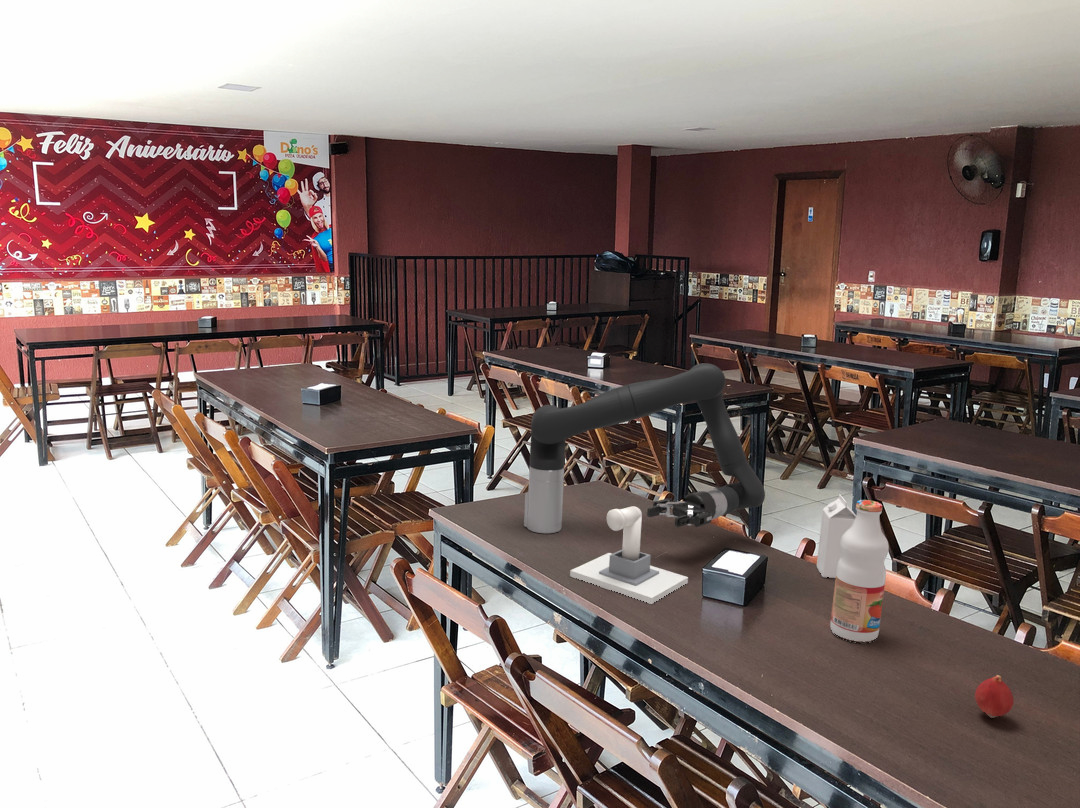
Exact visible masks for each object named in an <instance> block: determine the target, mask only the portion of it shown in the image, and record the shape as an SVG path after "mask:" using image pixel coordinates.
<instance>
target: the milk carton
mask: <svg viewBox="0 0 1080 808" xmlns="http://www.w3.org/2000/svg"><path fill="white" fill-rule="evenodd" d="M821 514H822V515H821V523H820V532H819V540H818V549H817V558H816V559H817V560H816V568H817V570H818V572H819V573H821V574H820V575H821V577H822V578H827V577H829V578H830V579H836V571H837V565H838V562H839V560H840V558H841V556H842V553H841V546H840V543H841V538H842V536H843V534H844V533H845V532H846V531H847V530H848V529H849V528H850V527H851V526H852V524H853V522H854V520H855V518H856V515H857V514H855V512H854V511H853V509H851V508H850V507H849V506H848V502H847V501H846V500H845V498H844V497H843V496H842V495H841V493H840V494H838V498H837V499H835V500H833V501H832V502H830V503H828V504H827V505H826V506H824V508H822V513H821Z"/></svg>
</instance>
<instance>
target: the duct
mask: <svg viewBox="0 0 1080 808" xmlns="http://www.w3.org/2000/svg"><path fill="white" fill-rule="evenodd" d="M651 556H652V555H651V554H648V553H645V552H641V551H640V554H639V559H638V560H636V561H631V560H628V559H625V558H622V549H620V550H618V551H615V552H613V553H611V552H607V553H605V554H603V555H601V556H599V557H596V558H595V559H591V560H590V561H588V562H586V563H584V564H582V565H580V566H577V567H575V568H572V569H570V570H569V577H570V578H573V579H576V578H577V579H576V580H578V579H579V581H581V580H583V581H582V582H584V581H585V583H587V582H588V584H590V583H592V584H591V585H593V584H594V586H596V585H597V586H596V587H599V586H600V587H599V588H602V589H606V590H608V591H611V590H612V591H611V592H614V591H615V592H614V593H616V592H618V593H617V594H619V593H621V594H620V595H622V594H624V595H623V596H625V595H626V597H628V596H629V598H631V597H632V599H634V598H635V599H634V600H637V599H638V601H640V600H641V601H640V602H643V601H644V602H643V603H646V602H647V604H649V605H653V604H655V603H657V602H658V601H660V600H661V598H662V599H663V598H665V597H667V596H669V595H670V594H672V593H673V591H674V590H675V591H677V590H679V589H681V588H682V587H684V586H686V585H687V584H688V583H689V577H688V576H685V575H682V574H679V573H676V572H674V571H673V572H672V571H669V570H667V569H666V570H665V569H663V568H660V567H656V566H653V565H651V558H652V557H651ZM685 584H686V585H685ZM683 585H684V586H683ZM681 586H682V587H681ZM680 587H681V588H680ZM678 588H679V589H678ZM676 589H677V590H676ZM675 591H674V592H675ZM671 592H672V593H671ZM669 593H670V594H669ZM668 594H669V595H668ZM666 595H667V596H666ZM664 596H665V597H664ZM659 599H660V600H659ZM656 601H657V602H656ZM654 602H655V603H654Z"/></svg>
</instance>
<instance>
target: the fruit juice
mask: <svg viewBox="0 0 1080 808" xmlns="http://www.w3.org/2000/svg"><path fill="white" fill-rule="evenodd" d="M855 510H856V514H855V515H856V518H855V520H854V522H853V524H852V526H851V527H850V528H849V529H848V530H847V531H846V532H845V533H844V534H843V536H842V538H841V543H840V546H841V553H842V556H841V558H840V560H839V562H838V565H837V571H836V578H835V581H834V589H833V598H832V605H831V615H830V625H829V626H830V631H831V630H832V631H831V633H833V634H834V633H835V634H836V635H838V636H840V637H843V638H846V639H849V640H854V641H863V642H865V641H871V640H874V639H876V638H877V639H878V636H879V632H880V624H881V618H882V610H883V603H884V601H883V600H884V596H885V595H884V594H885V585H886V579H887V578H886V577H887V570H886V566H885V565H886V564H885V561H886V559H887V556H888V554H889V541H888V539H887V538H886V536H885V534H884V533H883V531H882V528H881V521H880V515H881V514H882V511H883V505H882V503H880V502H879V501H874V500H869V499H868V500H867V499H859V500H857V501H856V503H855ZM835 634H834V635H835ZM836 635H835V636H836ZM838 636H837V637H838ZM877 639H876V640H877Z"/></svg>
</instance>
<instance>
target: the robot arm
mask: <svg viewBox="0 0 1080 808" xmlns="http://www.w3.org/2000/svg"><path fill="white" fill-rule="evenodd" d="M725 385H726V376H725V373H724V372H723V371H722V369H720V368H719V366H717V365H716V364H712V363H706V362H705V363H703V362H702V363H698V364H695V365H694V366H692V367H691V368H690V369H688V370H687V371H684V372H681V373H679V374H676V375H673V376H670V377H665V378H660V379H649V380H643V381H639V382H633V383H628V384H626V385H621V386H618V387H614V388H611V389H608V390H607V391H604V392H602V393H600V394H598V395H596V396H594V397H592V398H591V399H590V398H589V400H586V401H585V402H582V403H580V404H576V405H572V406H566V407H562V408H560V407H559V406H556V405H555V404H554V405H553V404H544V405H542V406H539V408H537V409H536V410H535V411H534V412H533V414H532V416H531V423H530V429H531V430H530V449H529V473H528V474H529V475H528V490H527V491H526V492H525V494H524V518H523V527H525V528H527V529H528V531H531V532H533V533H537V534H538V533H539V534H554V533H557V532H560V531H561V530H562V522H563V521H562V520H563V519H562V518H563V517H562V516H563V499H564V497H563V496H564V480H565V478H564V477H565V462H566V461H565V460H566V458H565V457H566V439H567V440H568V439H570V438H572V437H574V436H577V435H579V434H582V433H584V432H588V431H592V430H597V429H602V428H606V427H611V426H615V425H619V424H623V423H628V422H632V421H634V420H639V419H642V418H643V417H647V416H651V415H653V414H655V413H658V412H661V411H663V410H666V409H668V408H671V407H675V406H678V405H682V404H688V403H692V402H696V403H697V405H698V408H699V409H700V412H701V414H702V416H703V418H704V419H703V420H704V422H705V424H706V427H707V431H708V434H709V437H710V439H711V442H712V446H713V449H714V452H715V455H716V459H717V461H718V464H719V467H720V469H721V472H722V474H723V475H725V476H728V477H733V478H735V479H736V480H737V482H736V481H735V482H732V483H727V484H725V485H723V486H720V487H719V486H718V487H717V488H716V487H715V488H711V489H709V488H708V489H704V490H699V491H696V492H692V493H689V494H687V495H686V496H685V497H684V498H683V500H681V501H680V500H678V501H672V498H664V499H659V500H655V501H653V502H652V506H651V507H648V508H647V512H646V516H647V517H648V518H655V517H657V516H665V517H667V518H675V519H674V527H676V528H680V527H684V526H692V525H694V527H695V528H700V527H702V526H706V525H708V524H711V523H712V521H713V520H716V519H718V518H719V517H722V516H725V515H729V514H732V513H733V512H735V511H736V510H742V509H743V510H744V509H751V508H757V507H758V508H759V507H760V506H762V505H763V503H764V502H765V498H766V491H765V486H763V485H764V484H763V483H762V482H761V480H760V478H759V477H758V476H757V474H756V473H755V471H754V470H753V468H752V466H751V465H750V463H749V462H748V460H747V456H746V454H745V450H744V447H743V444H742V442H741V440H740V437H739V435H738V432H737V430H736V428H735V427H734V425H733V422H732V420H731V419H730V416H729V412H728V411H727V408H726V404H725V401H724V396H723V392H722V391H723V390H724V388H725ZM671 509H672V512H670V511H671Z"/></svg>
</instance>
